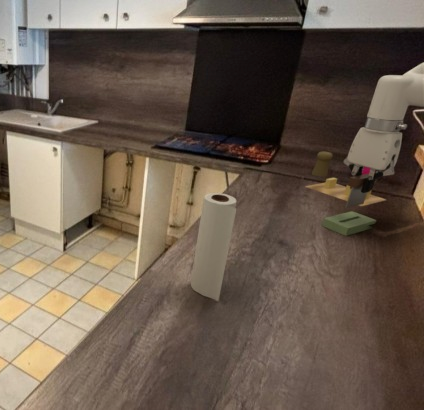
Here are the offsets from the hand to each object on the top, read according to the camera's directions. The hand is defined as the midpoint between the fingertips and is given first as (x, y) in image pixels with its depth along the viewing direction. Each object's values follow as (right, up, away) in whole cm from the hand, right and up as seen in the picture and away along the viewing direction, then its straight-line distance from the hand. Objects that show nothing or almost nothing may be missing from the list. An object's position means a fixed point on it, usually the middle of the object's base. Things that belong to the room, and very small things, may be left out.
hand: (359, 189), depth 101 cm
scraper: (0, -5, +2) cm, 5 cm away
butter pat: (+12, +2, +31) cm, 33 cm away
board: (+15, -1, +27) cm, 30 cm away
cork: (+18, +7, +45) cm, 49 cm away
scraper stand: (0, -11, +5) cm, 12 cm away
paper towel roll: (-52, -23, -23) cm, 62 cm away
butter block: (+16, -1, +23) cm, 28 cm away
